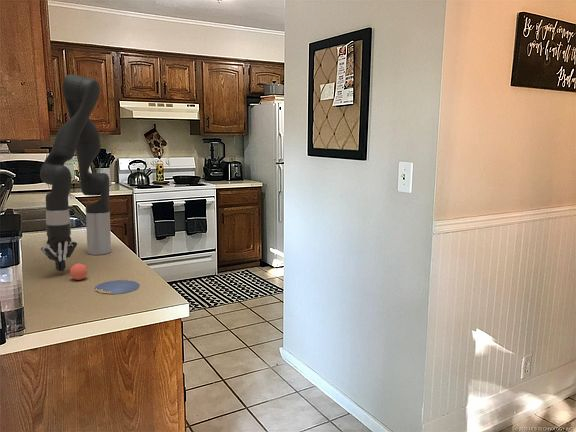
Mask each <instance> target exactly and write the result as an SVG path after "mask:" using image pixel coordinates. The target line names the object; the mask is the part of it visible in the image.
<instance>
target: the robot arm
mask: <svg viewBox="0 0 576 432" xmlns="http://www.w3.org/2000/svg"><path fill="white" fill-rule="evenodd" d="M100 91H101V87H100V84H99V82H98V81H97V80H96V79H95V78H92V77H86V76H82V75H78V74H77V75H76V74H67V75H65V77H64V79H63V81H62V93H63V97H64V102H65V104H66V106H65V107H66V109H67V113H68V116H69V120H67V121H66V122H65V123H64V124H63V125H62V126H61V127H60V128H59V130H57V132H56V135H55V139H54V142H53V143H52V148H51V150H50V152H49V153H48V155H47V156H46V158H45V160H44V161H43V163H42V165H41V167H40V172H39V177H40V180H41V181H42V182H43V183H44V184H46V185H51V189H50V190H51V191H50V192H48V193H46V195H45V209H46V210H45V224H46V225H45V226H46V227H45V229H46V236H47V240H46V245H45V246H44V247H41V248H40V251H41V252H43V254H44V255H45V256H46V257H47V258H48V259H49V260H51V261H54V262H55V263H54V264H55V270H57V272H64V271H65V269H66V260H67V259H68V258H71V256H72V255H73V252H74V251H75V249H76V247H77V245H78V243H77V242H76V241H73V240H72V238H71V234H72V233H71V232H72V231H71V229H72V228H71V215H70V211H69V210H70V209H69V195H70V192H71V186H72V173H71V171H70V169H69V168H68V167H67V166H66V165H65V163H66V162H68V161H71V160H72V159H73V158H74V156H75V154H76V159H77V163H78V164H77V165H78V173H79V174H78V175H79V184H80V189H81V193H82V194H83V195H84V196H91V197H94V196H98V197H99V196H100V198H99V199H98V200H97V201H94V202H92V203H89V204H87V205H86V206H85V223H86V225H85V226H86V247H87V250H86V251H87V254H88V255H92V256H96V255H97V256H98V255H99V256H101V255H106V254H110V253H111V252H112V242H111V241H112V240H111V239H112V237H111V235H112V233H111V212H110V211H111V210H110V208H111V207H110V176H109V174H107V173H105V172H89V170H90V167H91V165H92V163H93V162H94V160H95V159H96V157H97V156H98V155H99V153H100V151H101V149H102V148H101V146H102V145H101V136H100V132H99V130H98V128H97V126H96V125H95V123H94V122H93V121H92V119H91V118H90V116H91V114H92V113H93V110H94V108H95V106H96V105H97V101H98V100H99V97H100ZM51 250H52V251H51Z"/></svg>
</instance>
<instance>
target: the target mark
mask: <svg viewBox="0 0 576 432" xmlns="http://www.w3.org/2000/svg"><path fill="white" fill-rule="evenodd" d="M139 286H141V285H140V283H139V282H136V281H134V280H129V279H128V280H126V279H122V280H121V279H120V280H110V281H106V282H102V283H98V284H97V285H95V286H94V289H96V288H97V289H98V290H99V289H100V290H101V289H103V291H106V292H107V291H108V292H109V291H111V292H112V294H111V295H121V294H120V293H123V294H127V292H128V293H131V292H130V291H132V292H134V291H137V290H138V289H139V288H140V287H139ZM138 287H139V288H138ZM137 288H138V289H137ZM94 289H93V290H94ZM133 290H134V291H133ZM111 292H110V293H111ZM113 293H114V294H113Z"/></svg>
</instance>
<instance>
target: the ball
mask: <svg viewBox="0 0 576 432" xmlns="http://www.w3.org/2000/svg"><path fill="white" fill-rule="evenodd" d="M88 273H89V271H88V267H87V266H86V265H85V264H83V263H74V264H73V265H72V266H71V267H70V269H69V275H70V277H71V278H72V279H73V280H76V281H81V280H83V279H85V278H86V277H87V276H88Z"/></svg>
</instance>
